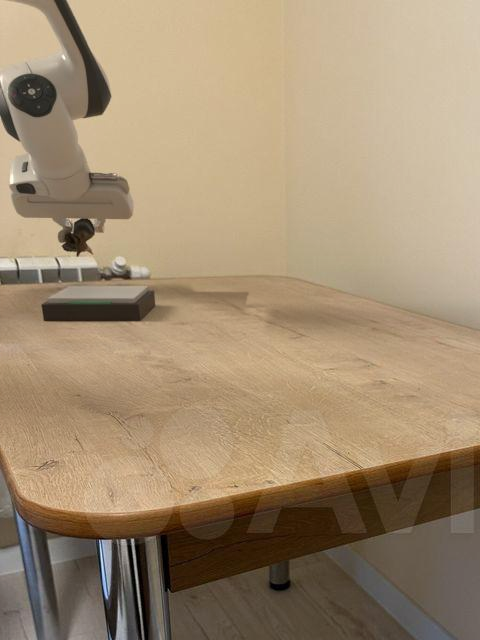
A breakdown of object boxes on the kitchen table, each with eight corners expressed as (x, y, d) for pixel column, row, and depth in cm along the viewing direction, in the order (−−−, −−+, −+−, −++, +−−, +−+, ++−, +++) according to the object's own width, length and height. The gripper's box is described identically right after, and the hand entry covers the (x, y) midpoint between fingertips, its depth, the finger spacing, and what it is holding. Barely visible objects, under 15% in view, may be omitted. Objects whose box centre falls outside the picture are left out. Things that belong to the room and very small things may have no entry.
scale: (43, 320, 105) (40, 298, 104) (69, 304, 118) (66, 285, 116) (140, 320, 106) (137, 298, 105) (155, 304, 119) (153, 285, 118)
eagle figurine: (109, 249, 132) (105, 236, 139) (83, 216, 127) (80, 204, 134) (76, 273, 132) (73, 258, 139) (48, 240, 127) (47, 227, 134)
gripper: (126, 160, 123) (142, 217, 136) (3, 157, 121) (31, 215, 133) (124, 188, 120) (140, 243, 133) (-2, 185, 118) (27, 242, 131)
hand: (84, 229), depth 133 cm, fingers closed on eagle figurine, 4 cm apart
